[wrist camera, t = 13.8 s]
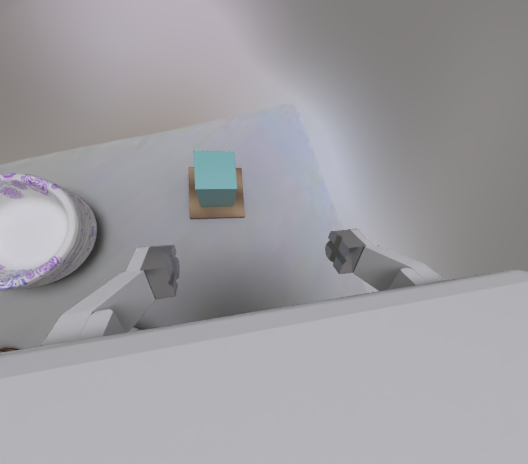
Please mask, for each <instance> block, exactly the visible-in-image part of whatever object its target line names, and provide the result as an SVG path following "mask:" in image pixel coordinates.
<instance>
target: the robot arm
mask: <svg viewBox="0 0 528 464" xmlns="http://www.w3.org/2000/svg"><path fill="white" fill-rule="evenodd" d="M328 238H329V240H330V241H329V242H328V243H327V244H326V248H325V251H326V255H327V257H328V259H329V260H330V261H332V262H334V263H333V266H334V267H335V269H336V270H337V272H338V273H339V274H345V273H354V274H355V275H357V276H358V277H359V278H361V279H362V280H364V281H365V282H367V283H368V284H370V285H371V286H373V287H374V288H376V289H377V290H379V291H378V292H372V293H366V294H360V295H353V296H347V297H341V298H335V299H329V300H322V301H316V302H310V303H304V304H298V305H292V306H286V307H279V308H273V309H267V310H261V311H255V312H249V313H243V314H237V315H230V316H224V317H218V318H212V319H206V320H200V321H194V322H187V323H181V324H175V325H169V326H163V327H157V328H151V329H144V330H138V331H132V332H129V331H130V330H131V329H132V328H133V326H134V325H135V324H136V323H137V322H138V321H139V319H140V318H141V317H142V316H143V315H144V314H145V312H146V311H147V310H148V309H149V308H150V306H151V305H152V304H153V303H154V302H155V301H156V299H162V298H168V297H174V296H176V291H177V286H178V284H177V281H176V280H177V279H178V278H179V273H180V266H179V260H178V258H177V257H175V255H176V249H175V246H174V245H161V246H147V247H138V248H137V249H136V251H135V253H134V255H133V257H132V259H131V261H130V263H129V265H128V267H127V270H126V272H123V273H120V274H119V275H117V276H116V277H115V278H113V279H112V280H110V281H109V282H108V283H106V284H105V285H103V286H102V287H100V288H99V289H98V290H96V291H95V292H93V293H92V294H91V295H89V296H88V297H86V298H85V299H83V300H82V301H81V302H79V303H78V304H76V305H75V306H74V307H72V308H71V309H69V310H68V311H66V312H65V313H64V314H62V315H61V317H60V318H59V320H58V321H57V323H56V324H55V326H54V327H53V329H52V330H51V332H50V333H49V335H48V336H47V338H46V339H45V341H44V342H43V344H42V345H41V346H40V347H34V348H28V349H22V350H16V351H9V352H3V353H0V464H528V272H525V271H521V270H506V271H500V272H495V273H488V274H482V275H477V276H470V277H464V278H458V279H452V280H443V278H441V277H440V276H439V275H438V274H436V273H435V272H434V271H433V270H431V269H430V268H429V267H428V266H426V265H425V264H422V263H420V262H418V261H415V260H413V259H410V258H408V257H406V256H403V255H401V254H398V253H396V252H394V251H391V250H389V249H386V248H384V247H381V246H379V245H375V244H374V243H373V242H371V241H370V240H369V239H368V238H367V237H366V236H365V235H364V234H363V233H362V232H361V231H360V230H358V229H348V230H340V231H331V232H330V234H329V237H328Z"/></svg>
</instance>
